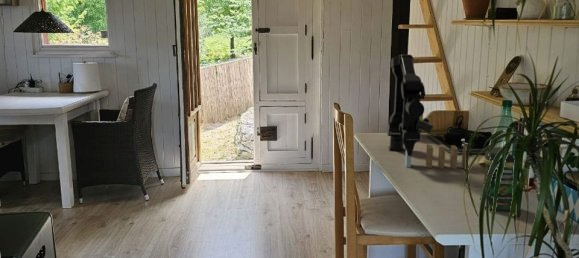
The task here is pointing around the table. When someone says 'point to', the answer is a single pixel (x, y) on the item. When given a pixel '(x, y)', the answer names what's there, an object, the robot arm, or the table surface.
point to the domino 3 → (441, 156)
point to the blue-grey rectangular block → (407, 160)
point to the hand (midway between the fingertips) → (408, 153)
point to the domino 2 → (429, 156)
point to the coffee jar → (505, 183)
